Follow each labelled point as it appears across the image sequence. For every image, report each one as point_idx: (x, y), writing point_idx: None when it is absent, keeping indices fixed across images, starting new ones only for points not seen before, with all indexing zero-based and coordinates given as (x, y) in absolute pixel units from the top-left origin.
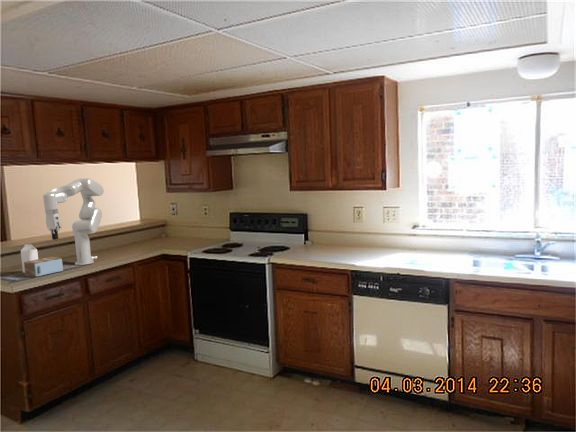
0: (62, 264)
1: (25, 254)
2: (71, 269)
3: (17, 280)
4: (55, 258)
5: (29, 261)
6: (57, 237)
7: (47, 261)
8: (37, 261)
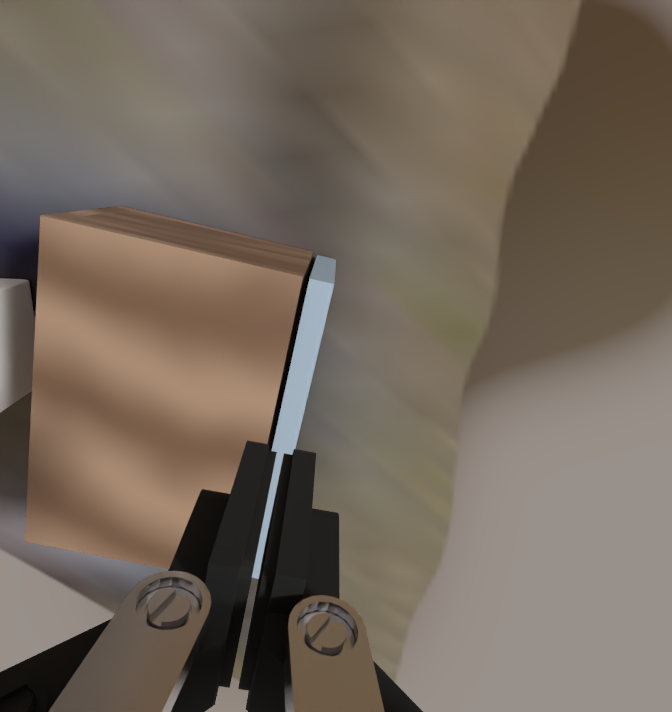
0: (334, 270)
1: None
2: (355, 155)
3: None
4: (247, 315)
5: (65, 511)
6: (338, 516)
7: (275, 448)
8: (178, 502)
